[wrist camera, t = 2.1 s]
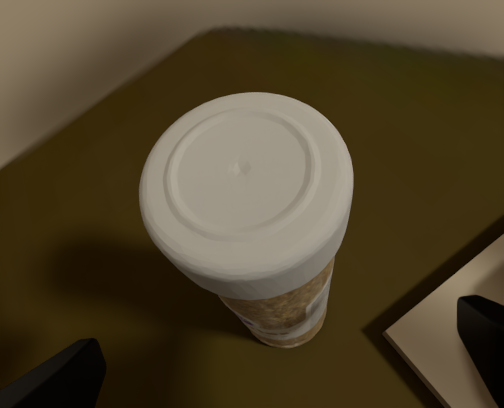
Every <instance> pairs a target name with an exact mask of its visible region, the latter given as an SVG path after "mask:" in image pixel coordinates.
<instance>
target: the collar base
mask: <svg viewBox="0 0 504 408" xmlns="http://www.w3.org/2000/svg"><path fill="white" fill-rule="evenodd" d="M468 295H479V296H482V297H484V298H487V299H489V300H492V301H494V302H497V303H499V304H502V305H504V234H503V235H502V236H500V237H499V238H498V239H497V240H495V241H494V242H493V243H492V244H491V245H489V246H488V247H487V248H486V249H484V250H483V251H482V252H481V253H480V254H478V255H477V256H476V257H475V258H473V259H472V260H471V261H470V262H469V263H467V264H466V265H465V266H464V267H463V268H461V269H460V270H459V271H458V272H456V273H455V274H454V275H453V276H452V277H450V278H449V279H448V280H447V281H445V282H444V283H443V284H442V285H441V286H439V287H438V288H437V289H436V290H434V291H433V292H432V293H431V294H430V295H428V296H427V297H426V298H425V299H423V300H422V301H421V302H420V303H419V304H417V305H416V306H415V307H414V308H412V309H411V310H410V311H409V312H408V313H406V314H405V315H404V316H403V317H401V318H400V319H399V320H398V321H397V322H395V323H394V324H393V325H392V326H390V327H389V328H388V329H387V330H386V331H384V332H383V333H382V335H383V336H384V337H385V338H386V339H387V341H388V342H389V343H390V344H391V345H392V346H393V348H394V349H395V350H396V351H397V352H398V353H399V355H400V356H401V357H402V358H403V359H404V360H405V362H406V363H407V364H408V365H409V366H410V368H411V369H412V370H413V371H414V372H415V373H416V375H417V376H418V377H419V378H420V379H421V380H422V382H423V383H424V384H425V385H426V386H427V387H428V389H429V390H430V391H431V392H432V393H433V394H434V396H435V397H436V398H437V399H438V400H439V401H440V403H441V404H442V405H443V406H444V407H445V408H499V407H498V406H497V404H496V403H495V401H494V400H493V398H492V396H491V394H490V393H489V391H488V389H487V387H486V385H485V384H484V382H483V380H482V378H481V376H480V374H479V372H478V370H477V369H476V367H475V365H474V363H473V361H472V359H471V357H470V355H469V354H468V352H467V350H466V348H465V346H464V344H463V342H462V340H461V339H460V337H459V334H458V331H457V300H458V298H459V297H461V296H468Z"/></svg>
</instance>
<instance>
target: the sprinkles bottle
mask: <svg viewBox="0 0 504 408" xmlns="http://www.w3.org/2000/svg"><path fill="white" fill-rule="evenodd" d="M352 194H353V169H352V163H351V158H350V155H349V152H348V150H347V146H346V144H345V143H344V141H343V139H342V137H341V135H340V134H339V132H338V131H337V130H336V128H335V127H334V126H333V125H332V124H331V123H330V122H329V120H328V119H327V118H325V117H324V116H323V115H322V114H320V113H319V112H318V111H317V110H315V109H313V108H312V107H310V106H309V105H307V104H304V103H302V102H300V101H298V100H296V99H293V98H290V97H286V96H282V95H277V94H270V93H260V92H252V93H240V94H233V95H229V96H225V97H221V98H217V99H214V100H212V101H209V102H207V103H204V104H202V105H200V106H198V107H196V108H195V109H193V110H191V111H190V112H188V113H186V114H185V115H183V116H182V117H181V118H179V119H178V120H177V121H176V122H175V123H173V124H172V125H171V126H170V127H169V128H168V129H167V130H166V131H165V132H164V134H163V135H162V136H161V137H160V138H159V140H158V141H157V143H156V144H155V146H154V147H153V149H152V150H151V152H150V154H149V156H148V158H147V160H146V163H145V165H144V168H143V172H142V175H141V180H140V186H139V202H140V209H141V214H142V219H143V222H144V225H145V227H146V229H147V231H148V233H149V235H150V237H151V239H152V240H153V242H154V243H155V245H156V246H157V247H158V248H159V249H160V251H161V252H162V253H163V254H164V255H165V256H166V257H167V258H168V259H169V260H170V261H171V262H172V263H173V264H174V265H175V266H176V267H177V269H179V270H180V271H181V272H182V273H183V274H185V275H186V276H187V277H188V278H189V279H191V280H192V281H193V282H195V283H196V284H197V285H199V286H200V287H202V288H204V289H206V290H208V291H211V292H213V293H215V294H218V296H219V297H220V299H221V300H222V301H223V302H224V304H225V305H226V306H227V307H228V308H229V309H231V310H232V311H233V312H234V313H235V314H236V315H237V316H238V317H239V319H240V320H241V321H242V322H243V323H244V324H245V325H246V326H247V327H248V328H249V330H250V331H251V333H252V334H253V335H255V336H256V337H257V338H258V339H259V340H260V341H262V342H264V343H265V344H267V345H270V346H273V347H277V348H293V347H297V346H300V345H302V344H304V343H306V342H307V341H309V340H310V339H312V338H313V337H314V335H316V333H317V332H318V331H319V330H320V329H321V327H322V325H323V321H324V319H325V316H326V311H327V300H328V294H329V288H330V281H331V276H332V271H333V265H334V255H335V254H336V252H337V250H338V248H339V247H340V245H341V242H342V239H343V237H344V234H345V231H346V227H347V223H348V218H349V213H350V207H351V201H352Z"/></svg>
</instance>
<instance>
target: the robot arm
mask: <svg viewBox="0 0 504 408" xmlns="http://www.w3.org/2000/svg"><path fill="white" fill-rule="evenodd" d="M457 331H458V334H459V337H460V339H461V340H462V342H463V344H464V346H465V348H466V350H467V352H468V354H469V355H470V357H471V359H472V361H473V363H474V365H475V367H476V369H477V370H478V372H479V374H480V376H481V378H482V380H483V382H484V384H485V385H486V387H487V389H488V391H489V393H490V394H491V396H492V398H493V400H494V401H495V403H496V404H497V406H498V407H499V408H504V305H502V304H499V303H497V302H494V301H492V300H489V299H487V298H484V297H482V296H479V295H468V296H461V297H459V298H458V300H457ZM105 373H106V362H105V359H104V357H103V354H102V351H101V348H100V345H99V343H98V341H97V340H96V339H94V338H89V339H81V340H78V341H76V342H75V343H73V344H72V345H70V346H69V347H67V348H65V349H64V350H62V351H61V352H59V353H58V354H56V355H55V356H53V357H51V358H50V359H48V360H47V361H45V362H44V363H42V364H41V365H39V366H37V367H36V368H34V369H33V370H31V371H30V372H28V373H27V374H25V375H23V376H22V377H20V378H19V379H17V380H16V381H14V382H13V383H11V384H9V385H8V386H6V387H5V388H3V389H2V390H0V408H95V404H96V401H97V398H98V395H99V392H100V389H101V386H102V383H103V380H104V377H105Z"/></svg>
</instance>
